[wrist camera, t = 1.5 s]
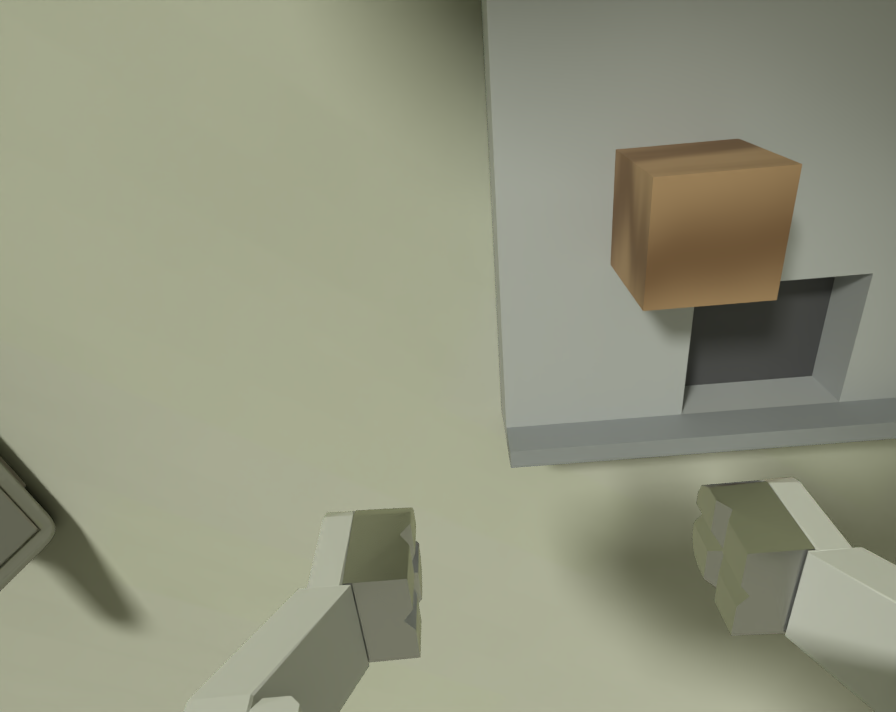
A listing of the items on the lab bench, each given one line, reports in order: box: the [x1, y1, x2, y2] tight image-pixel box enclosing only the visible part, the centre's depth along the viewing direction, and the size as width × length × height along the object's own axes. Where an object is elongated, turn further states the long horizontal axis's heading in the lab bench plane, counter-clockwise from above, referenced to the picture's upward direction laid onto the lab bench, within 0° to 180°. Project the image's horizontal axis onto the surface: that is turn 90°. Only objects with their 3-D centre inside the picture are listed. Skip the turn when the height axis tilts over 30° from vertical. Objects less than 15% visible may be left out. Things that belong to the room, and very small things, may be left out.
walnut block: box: [610, 139, 802, 311], centre depth 24 cm, size 5×5×5 cm
